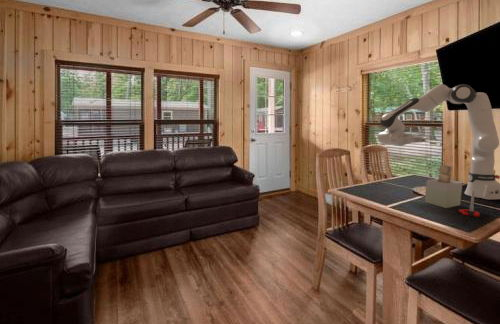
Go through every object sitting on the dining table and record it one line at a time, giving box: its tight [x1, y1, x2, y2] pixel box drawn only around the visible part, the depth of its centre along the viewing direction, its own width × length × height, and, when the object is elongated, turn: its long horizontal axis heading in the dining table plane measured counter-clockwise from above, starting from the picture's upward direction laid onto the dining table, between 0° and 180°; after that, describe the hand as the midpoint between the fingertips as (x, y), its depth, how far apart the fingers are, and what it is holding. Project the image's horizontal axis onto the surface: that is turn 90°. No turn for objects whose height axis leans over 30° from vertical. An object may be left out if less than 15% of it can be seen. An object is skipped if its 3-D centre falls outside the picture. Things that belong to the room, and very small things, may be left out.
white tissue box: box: [424, 178, 463, 209], centre depth 158 cm, size 12×12×13 cm
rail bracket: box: [438, 164, 453, 183], centre depth 157 cm, size 4×4×13 cm
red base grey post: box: [458, 191, 481, 218], centre depth 142 cm, size 8×13×9 cm
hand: (419, 140), depth 168 cm, fingers open, 8 cm apart
